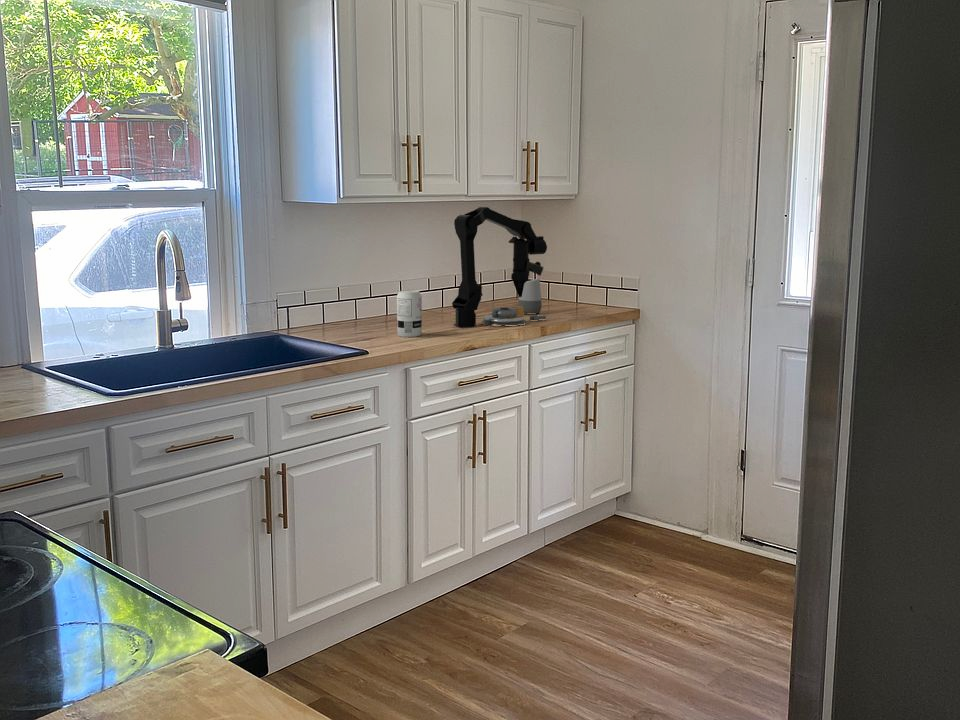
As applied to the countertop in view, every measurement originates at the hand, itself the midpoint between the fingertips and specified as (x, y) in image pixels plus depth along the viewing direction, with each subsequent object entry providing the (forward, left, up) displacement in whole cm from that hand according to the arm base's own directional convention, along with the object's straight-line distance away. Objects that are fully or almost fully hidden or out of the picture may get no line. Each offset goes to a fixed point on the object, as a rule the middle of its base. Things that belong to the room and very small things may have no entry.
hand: (520, 297), depth 358 cm
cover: (-8, -5, -6) cm, 12 cm away
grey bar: (+7, -2, -9) cm, 11 cm away
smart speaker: (+12, +17, -9) cm, 23 cm away
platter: (-8, -5, -8) cm, 12 cm away
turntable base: (-8, -5, -9) cm, 13 cm away
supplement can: (-49, -21, -9) cm, 54 cm away
